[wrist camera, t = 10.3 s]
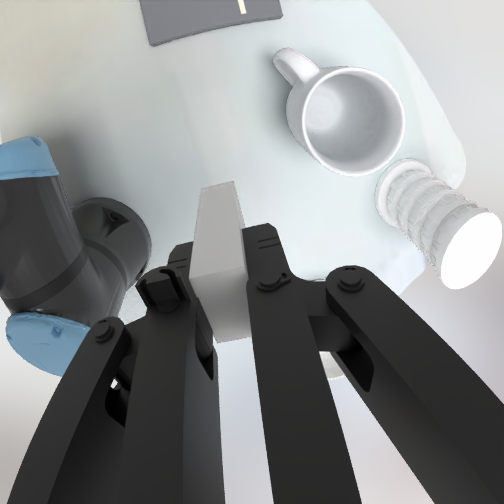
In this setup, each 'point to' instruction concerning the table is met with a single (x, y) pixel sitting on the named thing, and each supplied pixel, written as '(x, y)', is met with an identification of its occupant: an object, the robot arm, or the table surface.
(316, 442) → the robot arm
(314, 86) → the mug
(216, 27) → the console
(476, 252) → the decorative container
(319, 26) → the table surface
